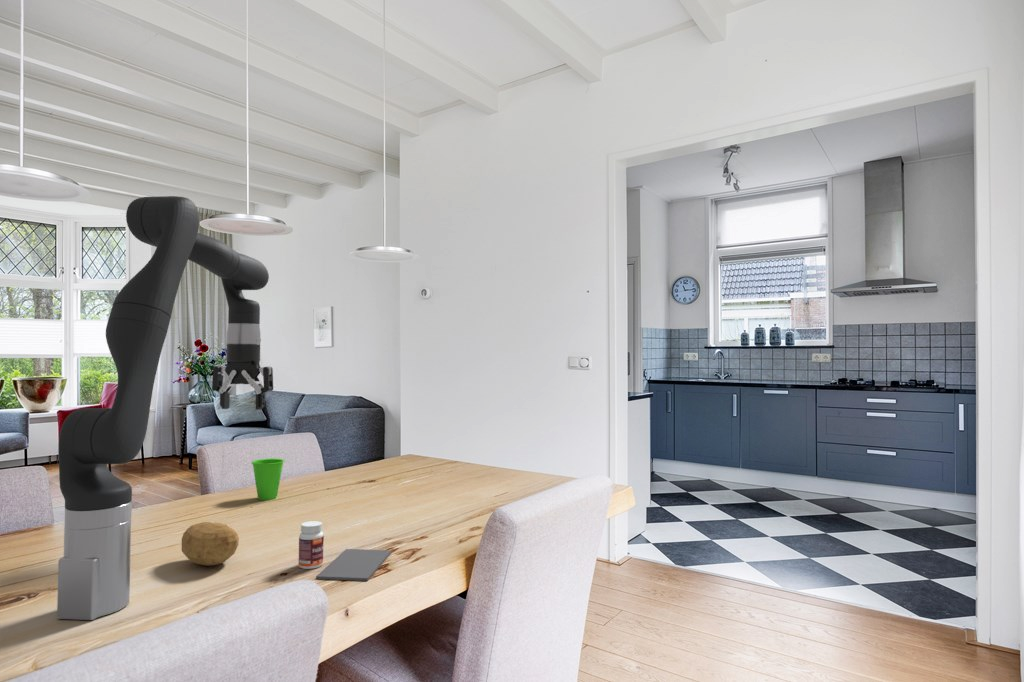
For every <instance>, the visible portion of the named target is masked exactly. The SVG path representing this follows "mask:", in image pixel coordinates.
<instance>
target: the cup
mask: <svg viewBox="0 0 1024 682" xmlns="http://www.w3.org/2000/svg"><path fill="white" fill-rule="evenodd" d="M284 462H285V460H284V458H275V457H274V458H261V459H255V460H251V464H252V467H253V473H254V481H255V487H256V494H257V495H256V496H257V498H258V500H259V501H271V500H275V499H277V497H278V493H279V487H280V481H281V476H282V469H283V467H284V466H283V465H284Z"/></svg>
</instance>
